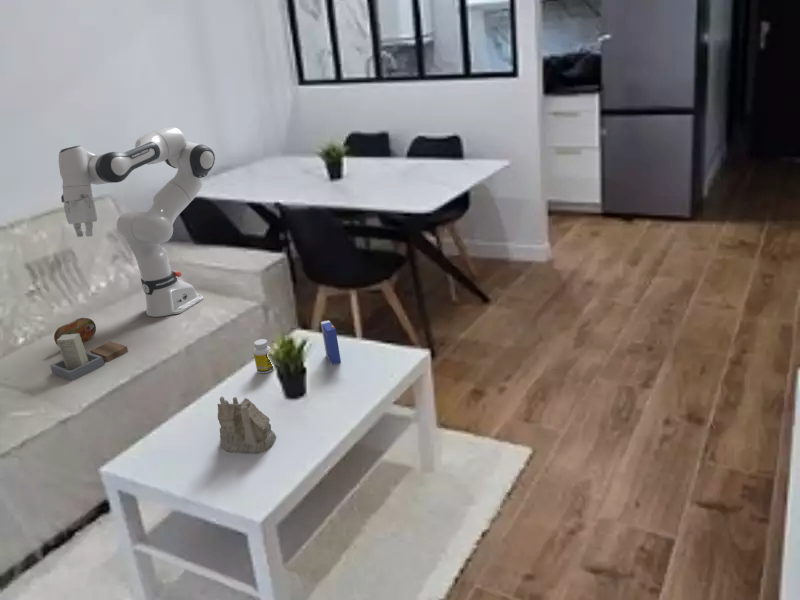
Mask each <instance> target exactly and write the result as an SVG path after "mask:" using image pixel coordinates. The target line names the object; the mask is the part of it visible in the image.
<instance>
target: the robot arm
mask: <svg viewBox="0 0 800 600" xmlns="http://www.w3.org/2000/svg"><path fill="white" fill-rule="evenodd" d="M215 160H216V156H215V153H214V151H213V149H212V148H210V147H209V146H207V145H205V144H202V143H201V144H200V143H196V142H192V141H186V137H185V135H184V133H183V132H182V130H181V129H179V128H177V127H173V126H170V127H165V128H159V129H156V130H152V131H150V132H148V133H146V134H144V135H142V136H140V137H139V138H138V139H137V140H136V141H135V145H134V148H132V149H130V150H127V151H125V152H119V151H118V152H117V151H111V152H106V153H104V154H103V153H102V154H99V155H98V154H95V153H93V152H90V151H88V150H87V149H85V148H84V146H81V145H73V146H70V147H65V148H62V149H61V150H59V153H58V168H59V174H60V177H61V179H62V184H61V185H62V186H61V187H62V194H61V196H60V200H61V201H60V202H61V203H62V204H63V210H64V213H65V218H66V221H67V223H68V224H69V225H73V228H74V231H75V234H76V238H81V237H84V233H85V237H92V236H94V235H93V229H94V228H93V223H95V222H98V214H97V210H96V206H95V202H94V198H93V197H94V196H93V190H92V185H103V184H113V183H115V184H116V183H120V182H123V181H125V180H126V178H128V176H129V175H130V174H131V173H132V172H133V171H134V170H135V169H137V168H140V167H143V166H145V165H155V164H158V163H161V162H165V164H167V166H169V167H172V168H174V169H177V171H176V174H175V176H174V177H173V178H171V180H169V181H168V182H166V184H165V185H164V186H163V187H162V188H160V190H159V191H158V192H156V194H155V195H153V204H152V206H151V207H150V209H148V210H147V211H145V212H144V211H136V210H132V211H127V212H124V213H122V214H120V216H119V217H118V218H117V221H116V229H117V232H118V233H119V234H120V235H121V236H122V237H123V238H124V239H125V241H126V243H127V244H128V246H129V248H130V249H131V251H132V254H133V256H134V257H135V260H136V262H137V267H138V269H139V272H140V277H141V278H140V281H141V285H142V288H143V292H144V294H145V295H144V296H145V301H146V310H145V311H146V315H147V316H148V317H153V318H157V317H158V318H159V317H167V316H170V315H179V314H181V313H184V311H187V310H188V309H189V308H192V307H193V306H194V305H197V303H200V302H201V301H202V300H204V296H203V295H202V294H201V293H199V292H196V289H195V287H194V286H193V285H192V284H191V283H188V282H186V281H184V280H181V279H178V278H181V276H182V272H181V271H172V269H171V264H170V261H169V256H168V254H167V252H166V250H164V249H163V247H162V246H161V245H160V244H163V243H167V242H168V241H170V240H171V238H172V236H173V232H174V226H173V224H175V223H174V222H175V221H176V219H177V217H178V216H179V215H180V214H181V213H182V212H183V211H184V210H185V209H186V208H187V207H188V206H189V205H190V203H191V202H192V201H194V199H195V198H196V196H197V195H198V194H199V192H200V191H201V189H202V187H203V180H202V178H205V177H206V176H207V175H208V174H209V172H210V171H211V170H212V169H213V167H214V164H215ZM82 224H84V226H85V230H84V231H85V232H84V231H83V229H82Z"/></svg>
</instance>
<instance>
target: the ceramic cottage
mask: <svg viewBox="0 0 800 600" xmlns="http://www.w3.org/2000/svg"><path fill="white" fill-rule="evenodd" d="M219 401H220V403H217V421H218V422H219V426H220V428H219V437H220V438H219V439H220V444H219V446H220V449H222V450H223V451H224V452H226V453H231V454H232V453H233V454H253V455H254V454H255V455H256V454H261V453H264V452H267V451H268V450H269V449H271V448H272V447H273V446H274V445H275V442H276V440H277V434H276V433H275V432H274V431H273V430H272V424H270V421H271V419H270V417H268V416H267V415H265V414H264V413H263V412H262V411H261V410H259V408H258V407H257V406H256V405H255V403H253V402H252V401H251V400H250V399H249V398H246V397H244V398H243V400H242V401H241V402H240V403H239V401H238V397H236V396H235V397H232V403H229V401H228V400H227V399H226V400H225V397H224V396H220V397H219Z"/></svg>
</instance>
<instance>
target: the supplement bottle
mask: <svg viewBox="0 0 800 600" xmlns="http://www.w3.org/2000/svg"><path fill="white" fill-rule="evenodd" d="M253 343H254V349H253V356H254V361H255V366H256V371H257V373H258V374H268V373H271V372H272V371H274V369H273V366H272V364H271V362H270V360H269V359H268V357H267V353H268V351H269V350H271V351H272V348H271V347H270V346H269V343H268V340H267V339H265V338H261V339H257V340H255V341H254V342H253Z"/></svg>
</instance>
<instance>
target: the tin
mask: <svg viewBox="0 0 800 600" xmlns="http://www.w3.org/2000/svg"><path fill="white" fill-rule="evenodd" d="M96 331H97V325H96V323H95V322H94V320H92V319H91V318H88V317H79V318H76V319H75V320H72V321H70V322H69V323H65V324H64V325H61V326H59V327H58V328H57V329H56V331H55V332H54V336H53V341H54V342H55V345H56V346H58V343H57V339H58V338H60V337H61V336H62V335H66V334H77V333H79V334H80V337H81V340H82V343H85V342H87V341H90V340H92V338H93V337H95V335H96Z"/></svg>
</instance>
